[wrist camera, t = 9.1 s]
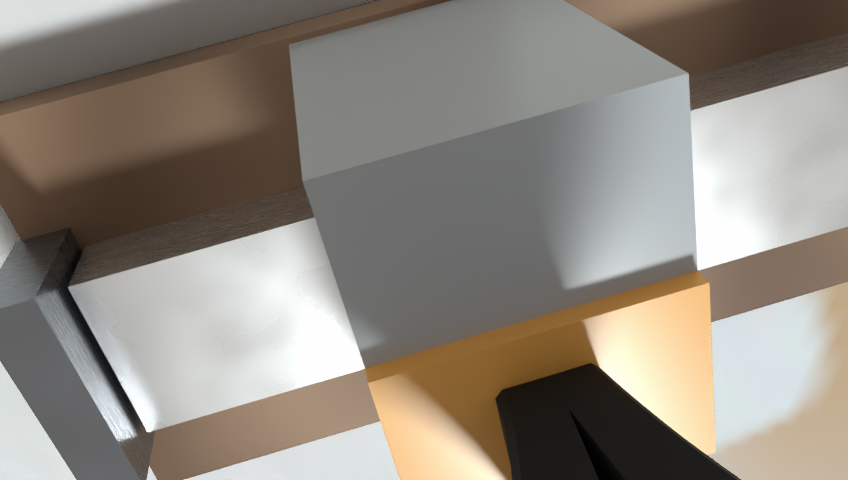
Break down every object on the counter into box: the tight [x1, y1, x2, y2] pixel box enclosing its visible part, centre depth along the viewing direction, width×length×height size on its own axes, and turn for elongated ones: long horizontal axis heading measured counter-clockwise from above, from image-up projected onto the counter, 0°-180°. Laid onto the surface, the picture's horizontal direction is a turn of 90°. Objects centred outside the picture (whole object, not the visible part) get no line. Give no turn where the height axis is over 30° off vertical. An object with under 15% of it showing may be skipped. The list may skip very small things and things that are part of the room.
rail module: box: [289, 0, 716, 480], centre depth 13 cm, size 4×8×6 cm, turn 13°
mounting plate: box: [0, 0, 848, 480], centre depth 16 cm, size 18×9×1 cm, turn 103°
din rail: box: [0, 32, 848, 480], centre depth 15 cm, size 18×4×2 cm, turn 103°
